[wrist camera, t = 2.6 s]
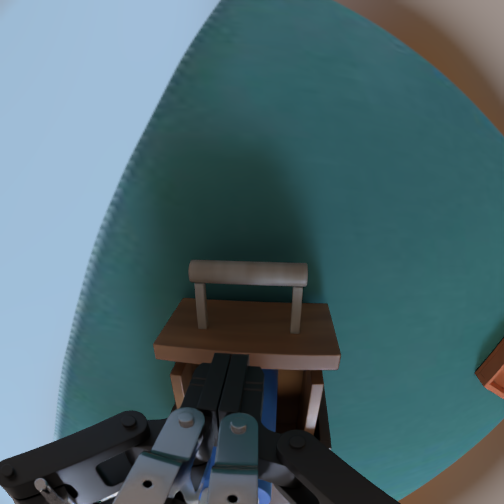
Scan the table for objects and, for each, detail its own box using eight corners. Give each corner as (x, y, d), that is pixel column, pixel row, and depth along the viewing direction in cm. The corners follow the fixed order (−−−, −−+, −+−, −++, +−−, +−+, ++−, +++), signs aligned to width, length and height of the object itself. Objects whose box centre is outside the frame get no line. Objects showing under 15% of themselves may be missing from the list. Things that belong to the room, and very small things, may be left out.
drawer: (178, 240, 23) (141, 273, 17) (333, 244, 22) (352, 281, 16) (198, 413, 29) (182, 463, 22) (310, 420, 28) (313, 473, 21)
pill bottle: (226, 338, 24) (179, 492, 11) (279, 341, 24) (271, 503, 10) (228, 378, 25) (192, 521, 12) (277, 381, 25) (267, 530, 12)
